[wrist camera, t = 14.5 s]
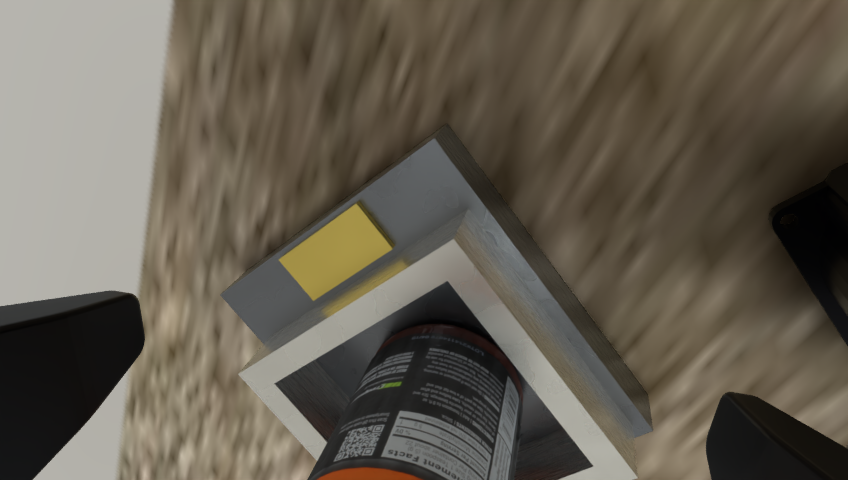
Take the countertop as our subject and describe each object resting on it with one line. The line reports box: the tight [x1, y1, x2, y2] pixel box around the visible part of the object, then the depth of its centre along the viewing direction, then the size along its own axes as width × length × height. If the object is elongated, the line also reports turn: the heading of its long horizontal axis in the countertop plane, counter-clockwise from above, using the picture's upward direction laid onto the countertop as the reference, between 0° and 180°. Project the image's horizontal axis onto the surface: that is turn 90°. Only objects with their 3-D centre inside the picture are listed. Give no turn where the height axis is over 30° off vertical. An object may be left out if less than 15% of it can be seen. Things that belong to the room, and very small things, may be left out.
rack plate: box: [221, 124, 653, 480], centre depth 23 cm, size 13×11×4 cm
